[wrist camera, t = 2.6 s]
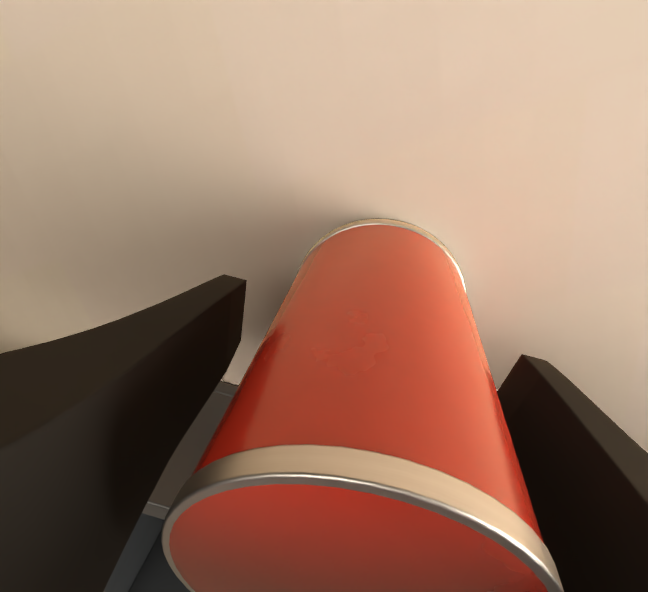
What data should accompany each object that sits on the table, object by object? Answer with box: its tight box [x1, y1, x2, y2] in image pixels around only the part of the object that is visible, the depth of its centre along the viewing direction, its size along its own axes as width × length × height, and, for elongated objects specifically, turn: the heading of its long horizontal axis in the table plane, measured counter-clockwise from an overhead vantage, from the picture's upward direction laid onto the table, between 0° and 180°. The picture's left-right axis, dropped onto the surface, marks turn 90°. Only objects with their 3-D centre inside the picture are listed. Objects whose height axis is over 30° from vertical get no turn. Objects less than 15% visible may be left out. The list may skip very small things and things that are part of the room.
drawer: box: [103, 381, 238, 592], centre depth 16 cm, size 15×13×5 cm
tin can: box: [161, 219, 564, 592], centre depth 8 cm, size 5×5×8 cm
